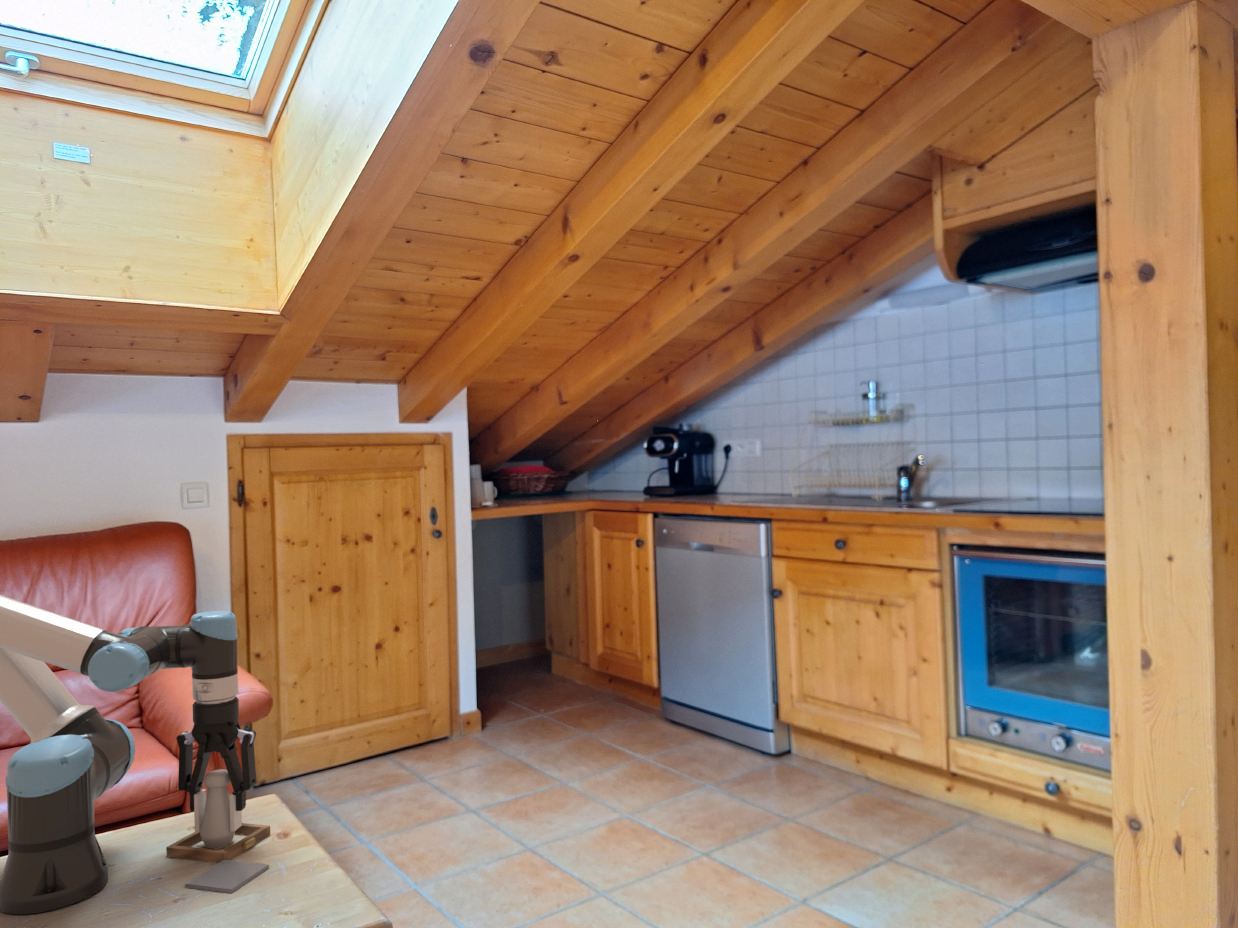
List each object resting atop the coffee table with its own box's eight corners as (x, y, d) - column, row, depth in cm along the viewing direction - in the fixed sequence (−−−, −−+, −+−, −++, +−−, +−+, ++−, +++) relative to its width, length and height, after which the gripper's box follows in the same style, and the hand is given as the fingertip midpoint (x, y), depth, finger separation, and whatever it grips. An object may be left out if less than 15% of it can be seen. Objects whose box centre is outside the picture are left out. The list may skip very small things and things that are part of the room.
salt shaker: (195, 851, 155) (193, 777, 155) (208, 838, 161) (206, 766, 161) (229, 850, 155) (227, 776, 155) (241, 836, 161) (239, 765, 161)
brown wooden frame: (166, 856, 154) (166, 847, 154) (215, 828, 165) (215, 820, 165) (227, 862, 150) (226, 853, 150) (273, 834, 162) (272, 825, 162)
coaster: (184, 887, 142) (184, 883, 142) (224, 862, 151) (224, 859, 151) (231, 892, 139) (231, 888, 139) (268, 867, 148) (268, 864, 148)
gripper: (152, 704, 155) (155, 837, 155) (257, 703, 154) (260, 836, 154) (176, 694, 162) (178, 820, 162) (276, 692, 161) (278, 819, 161)
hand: (218, 827), depth 158 cm, fingers closed on salt shaker, 6 cm apart
